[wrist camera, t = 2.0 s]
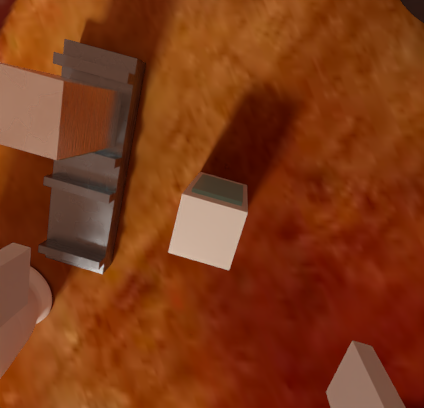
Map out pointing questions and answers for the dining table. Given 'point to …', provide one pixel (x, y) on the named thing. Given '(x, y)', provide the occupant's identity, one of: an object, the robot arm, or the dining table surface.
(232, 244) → the block
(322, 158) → the dining table surface
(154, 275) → the dining table surface
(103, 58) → the rail
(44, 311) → the jar
